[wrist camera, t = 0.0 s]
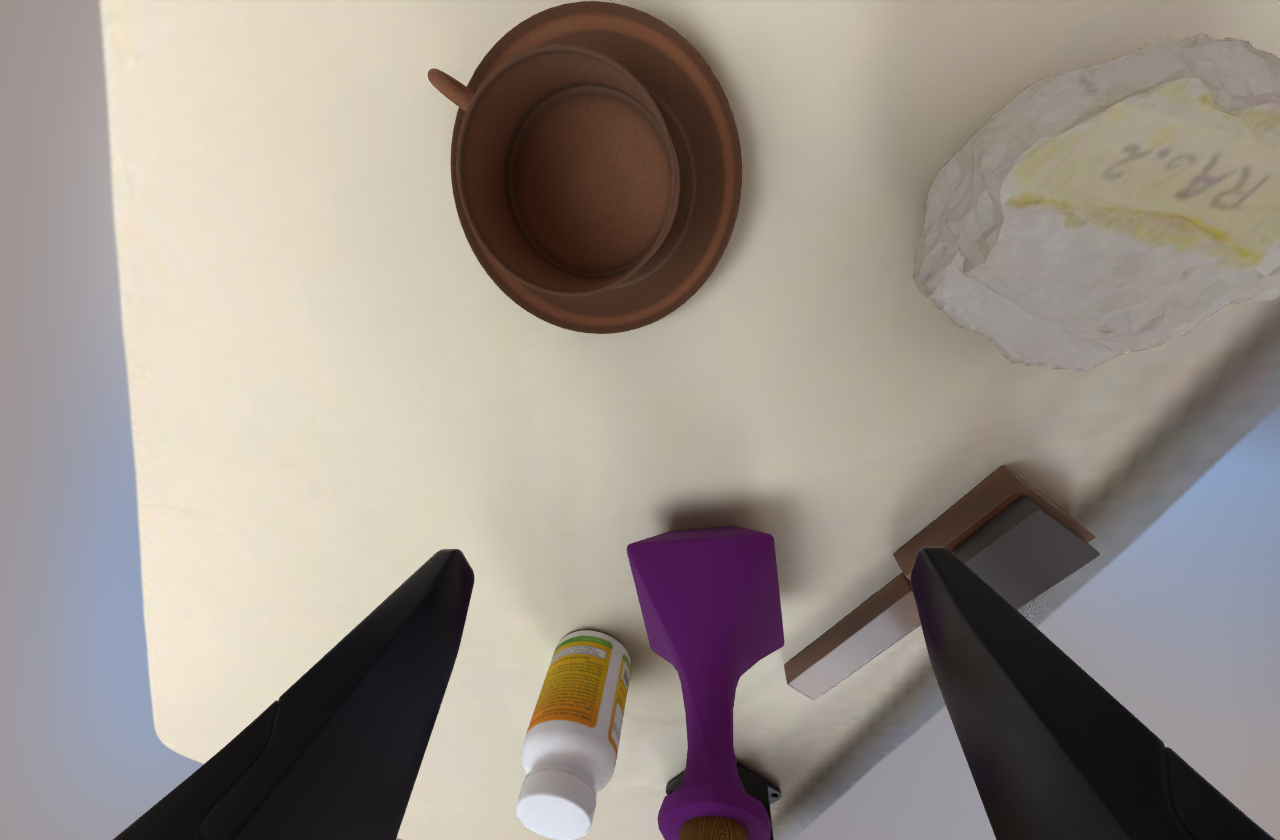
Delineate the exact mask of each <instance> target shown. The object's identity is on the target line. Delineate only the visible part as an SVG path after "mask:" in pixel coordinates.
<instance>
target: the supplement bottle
mask: <svg viewBox="0 0 1280 840" xmlns="http://www.w3.org/2000/svg"><path fill="white" fill-rule="evenodd" d="M630 671H631V660H630V656H629V654H628V652H627V650H626V648H625V647H624V646H623V645H622V644H621V643H620V642H619V641H617V640H616V639H614V638H613V637H611V636H609V635H606V634H604V633H601V632H597V631H590V630H583V631H577V632H573V633H571V634H569V635H567V636H565V637H564V638H563V639H562V640H561V641H560V642H559V643H558V645H557V647H556V649H555V652H554V654H553V657H552V660H551V663H550V666H549V669H548V672H547V675H546V678H545V681H544V684H543V687H542V690H541V693H540V696H539V699H538V701H537V704H536V707H535V710H534V713H533V716H532V719H531V722H530V725H529V728H528V730H527V733H526V736H525V740H524V743H523V747H522V761H523V765H524V768H525V770H526V772H527V773H528V774H527V775H526V777H525V780H524V782H523V784H522V787H521V791H520V794H519V798H518V801H517V805H516V813H517V816H518V818H519V820H520V821H521V822H522V823H523V824H524V825H525V826H526V827H527V828H528V829H530V830H531V831H533V832H535V833H537V834H539V835H542V836H544V837H548V838H551V839H556V840H574V839H578V838H581V837H583V836H584V835H586V834H587V833H588V831H589V830H590V828H591V825H592V820H593V816H594V811H595V807H596V793H597V792H598V791H600V790H601V789H603V788H604V787H605V786H606V785H607V783H608V782H609V781H610V779H611V777H612V775H613V772H614V768H615V764H616V759H617V752H618V746H619V740H620V734H621V727H622V721H623V715H624V709H625V703H626V697H627V691H628V685H629V679H630Z"/></svg>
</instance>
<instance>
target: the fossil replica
mask: <svg viewBox="0 0 1280 840" xmlns="http://www.w3.org/2000/svg"><path fill="white" fill-rule="evenodd" d="M925 208H926V216H925V222H924V228H923V230H922V231H921V236H920V241H919V244H918V246H917V249H916V252H915V257H914V262H915V271H914V276H913V278H914V280H915V283H916V285H917V287H918V288H919V289H920V291H921V292H922V293H923V294H924V295H925V296H926V297H928V298H931V299H932V301H933V302H934V303H935V304H936V306H937V307H938V308H939V309H940V310H941V311H942V312H944V313H945V314H946V315H948V316H949V318H950V320H951V321H952V322H953V323H954V324H956V325H958V326H960V327H963V328H966V329H970V330H974V331H975V332H978V333H979V334H981V335H983V336H984V337H985V338H987V339H988V340H989V341H991V342H992V343H993V344H994V345H995V346H996V347H997V349H998V350H999V351H1000V352H1001V353H1002V354H1003V355H1004V356H1005V358H1006V359H1008V360H1009V361H1010V362H1011V363H1022V364H1024V365H1026V366H1027V365H1034V364H1037V365H1045V366H1049V367H1052V368H1055V369H1070V370H1076V371H1083V372H1087V371H1089V370H1091V369H1093V368H1094V367H1096V366H1098V365H1100V364H1102V363H1104V362H1106V361H1108V360H1111V359H1113V358H1115V357H1117V356H1119V355H1122V354H1124V353H1126V352H1136V351H1142V350H1145V349H1148V348H1152V347H1155V346H1159V345H1161V344H1163V343H1164V342H1166V341H1167V340H1170V339H1172V338H1175V337H1178V336H1181V335H1184V334H1187V333H1189V332H1190V331H1191V330H1192V329H1193V328H1195V327H1196V326H1197V325H1198V324H1199V323H1200V322H1202V321H1203V320H1204V319H1205V318H1207V317H1208V316H1209V315H1212V314H1213V313H1215V312H1217V311H1218V310H1219V309H1220V308H1221V307H1222V306H1224V305H1225V304H1227V303H1257V302H1267V301H1272V300H1274V299H1276V298H1279V297H1280V58H1278V57H1276V56H1274V55H1272V54H1271V53H1267V52H1264V51H1261V50H1257V49H1255V48H1254V47H1253V46H1252V45H1251V44H1250V43H1249V42H1248V41H1243V40H1237V39H1232V38H1227V37H1226V38H1225V39H1223V40H1215V39H1211V38H1210V37H1209V36H1208V35H1207V34H1199V35H1196V36H1193V37H1190V38H1187V39H1184V40H1181V41H1178V42H1174V43H1173V42H1172V41H1171V40H1170V39H1169V38H1165V39H1162V40H1159V41H1157V42H1154V43H1152V44H1150V45H1147V46H1145V47H1143V48H1140V49H1138V50H1135V51H1133V52H1131V53H1128V54H1126V55H1123V56H1121V57H1118V58H1115V59H1112V60H1109V61H1106V62H1103V63H1099V64H1096V65H1092V66H1088V67H1084V68H1080V69H1076V70H1072V71H1069V72H1065V73H1061V74H1058V75H1054V76H1050V77H1047V78H1043V79H1040V80H1038V81H1037V82H1035V83H1033V84H1032V85H1030V86H1028V87H1027V88H1025V89H1024V90H1023V91H1022V92H1021V93H1020V94H1019V95H1017V96H1016V97H1015V98H1014V99H1013V100H1012V101H1010V102H1009V103H1008V104H1007V105H1006V106H1004V107H1003V108H1002V109H1000V110H999V111H997V112H996V113H994V114H993V115H992V116H991V117H990V119H989V120H988V121H987V122H986V123H985V125H984V126H983V127H982V128H981V129H980V130H979V131H978V132H977V133H976V134H975V135H973V136H972V137H971V138H970V139H969V140H968V141H967V142H966V143H965V144H964V145H963V146H962V147H961V149H960V150H959V151H958V152H957V153H956V154H955V155H954V156H953V157H952V158H951V159H950V160H949V161H948V162H947V163H946V164H945V165H944V166H943V167H942V168H941V169H940V171H939V173H938V174H937V176H936V178H935V180H934V182H933V185H932V186H931V188H930V189H929V193H928V197H927V201H926V205H925Z"/></svg>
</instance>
